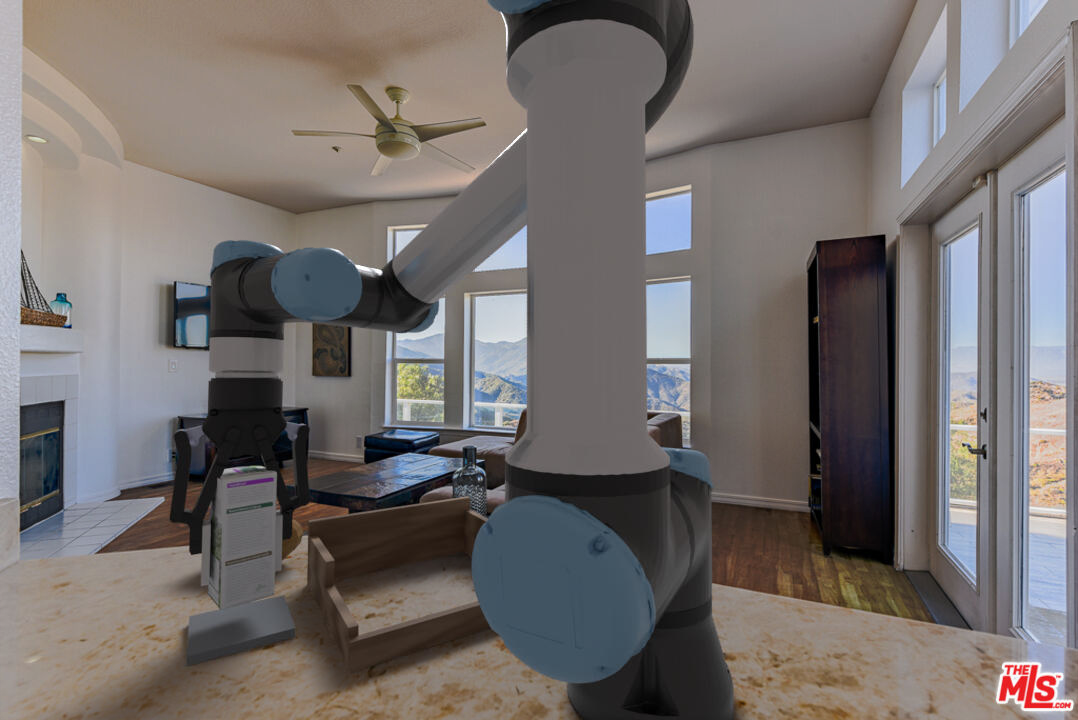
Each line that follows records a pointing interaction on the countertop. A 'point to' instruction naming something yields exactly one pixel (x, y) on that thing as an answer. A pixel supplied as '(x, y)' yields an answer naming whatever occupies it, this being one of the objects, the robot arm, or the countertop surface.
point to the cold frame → (385, 545)
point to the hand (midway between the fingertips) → (242, 573)
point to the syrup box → (243, 536)
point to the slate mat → (238, 629)
